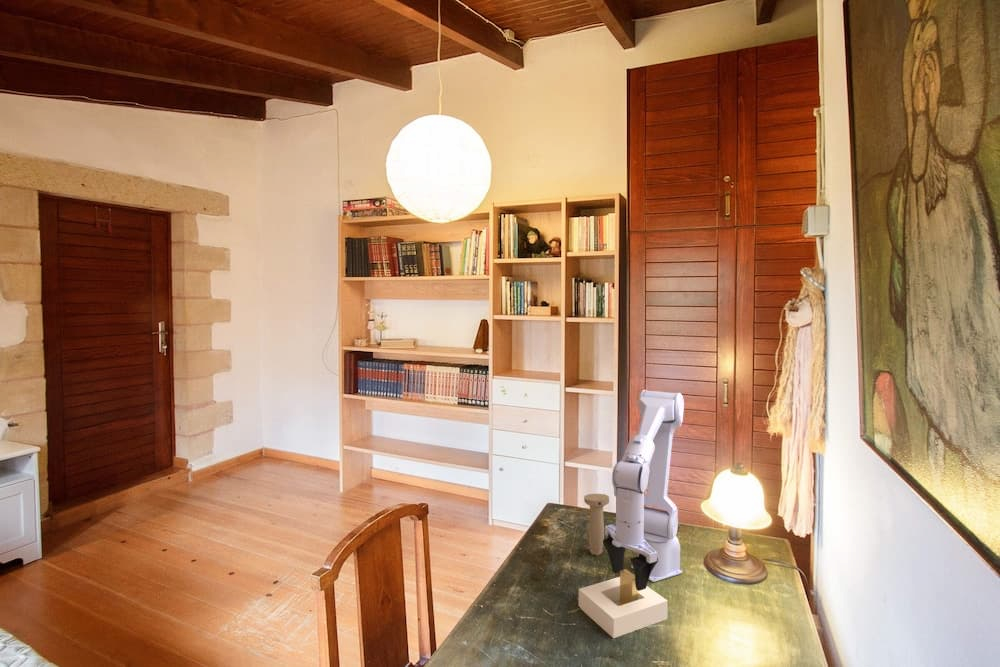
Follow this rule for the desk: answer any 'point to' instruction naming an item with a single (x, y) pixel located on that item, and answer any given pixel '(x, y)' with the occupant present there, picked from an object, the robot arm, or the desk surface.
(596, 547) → the handle
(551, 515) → the desk surface
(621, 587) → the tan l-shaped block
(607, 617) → the well block
